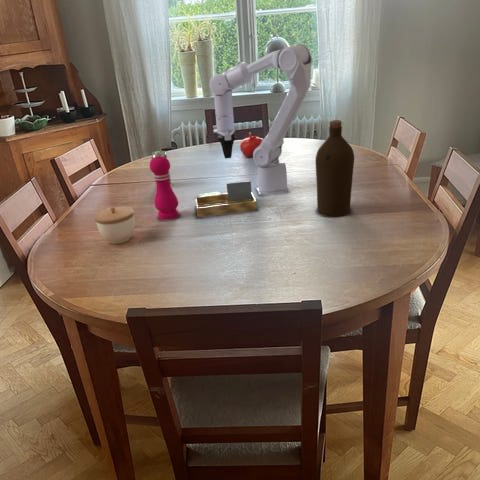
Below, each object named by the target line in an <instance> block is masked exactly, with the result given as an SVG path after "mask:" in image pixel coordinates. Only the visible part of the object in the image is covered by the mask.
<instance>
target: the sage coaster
mask: <svg viewBox="0 0 480 480" xmlns="http://www.w3.org/2000/svg"><path fill="white" fill-rule="evenodd" d="M217 194H222V191H212V192H205V193H204V192H203V193H199V194H198V197H200V196H209V195H217Z"/></svg>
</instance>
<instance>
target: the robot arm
mask: <svg viewBox="0 0 480 480" xmlns="http://www.w3.org/2000/svg"><path fill="white" fill-rule="evenodd" d="M312 65H313V57H312V54H311V52H310V49H309V47H308V46H306V45H305V44H303V43H298V44H296V45H293V46H288V47H284V48H281V49H278V50H275V51H271V52H269V53H267V54H265V55H264V56H262V57H260V58H258V59H257V60H254V61H253V62H251V63H249V64H248V63H247V62H245V61H244V62H243V61H242V62H241V61H238V62H235V63H234V66H233V67H231V68H228V69H227V68H225V69H223V70H222V73H216V74H214V75H213V76H212V77H211V78H210V80H209V89H210V91H211V93H212V94H213V100H214V101H213V102H214V113H215V124H216V129H213V134H218V135H217V140H218V141H219V143H220V145H221V146H220V147H221V150H222V154H223V156H224V159H231V158H232V155H233V147H234V143H235V140H236V136H235V134H234V133H235V132H236V128H235V120H234V106H233V105H234V104H233V90H236V89H237V88H240V87H242V86H244V85H246V84H249V83H250V82H251V81H252V80H253V77H254V75H256V74H259V73H261V72H264V71H266V70H268V69H270V68H275V69H277V70H279V69H280V70H281V71H282V73H283V74H284V75H285V77H286V78H287V80H288V83H289V86H290V88H289V90H288V91H287V93H286V95H285V98H284V100H283V101H282V104H281V106H280V108H279V109H278V112H277V114H276V116H275V118H274V121H273V122H272V124H271V126H270V129H269V130H268V133H267V135H266V136H265V137H264V138H263V139H262V140H263V141H262V142H261V144H260V146H259V147H257V148H256V149H255V150H254V152H253V157H252V158H253V162H254V163H255V165H256V168H257V184H258V186H256V188H255V189H256V191H257V193H258V195H259V196H265V195H272V194H273V195H274V194H279V193H288V175H287V174H288V172H287V166H286V162H280V160H279V158H280V156H281V155H282V151H283V150H282V147H283V145H284V143H285V141H284V139H285V136H286V135H287V133H288V131H289V129H290V127H291V125H292V123H293V121H294V119H295V118H296V116H297V114H298V111H299V109H300V108H301V105H302V103H303V102H304V100H305V98H306V96H307V94H308V93H309V90H310V88H311V84H312V83H311V79H312V78H311V77H312V76H311V75H312Z"/></svg>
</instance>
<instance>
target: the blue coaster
mask: <svg viewBox="0 0 480 480" xmlns="http://www.w3.org/2000/svg"><path fill="white" fill-rule="evenodd" d="M225 185H226V193H227V194H228V202H232V201H240V200H248V199H252V193H253V190H252V181H251V180H243V181H234V182H227V183H226V184H225Z"/></svg>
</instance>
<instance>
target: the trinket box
mask: <svg viewBox="0 0 480 480" xmlns="http://www.w3.org/2000/svg"><path fill="white" fill-rule="evenodd" d="M134 214H135V213H134V209H132V207H128V206H111V207H108V208H104V209H102V210H100V211H98V212H96V213H95V215H94V217H93V218H94V222H95V223H96V227H97V230H98V231H99V232H98V233H100V235H101V236H102V237H103V238H104V239H105V240H107V241H108V242H109V243H111V244H122V243H126V242H128V241H129V240H130V239H131V237H132V236H133V234H134V232H135V228H136V221H135V217H134Z"/></svg>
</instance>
